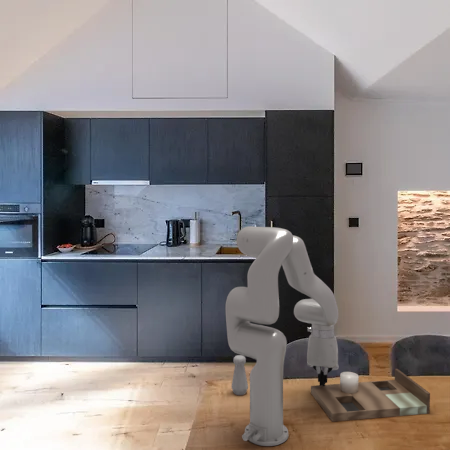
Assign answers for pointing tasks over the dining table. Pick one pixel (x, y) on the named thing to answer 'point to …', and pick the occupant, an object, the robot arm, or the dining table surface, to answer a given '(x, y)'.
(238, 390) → the salt shaker
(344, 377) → the white cup
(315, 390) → the board
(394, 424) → the dining table surface
